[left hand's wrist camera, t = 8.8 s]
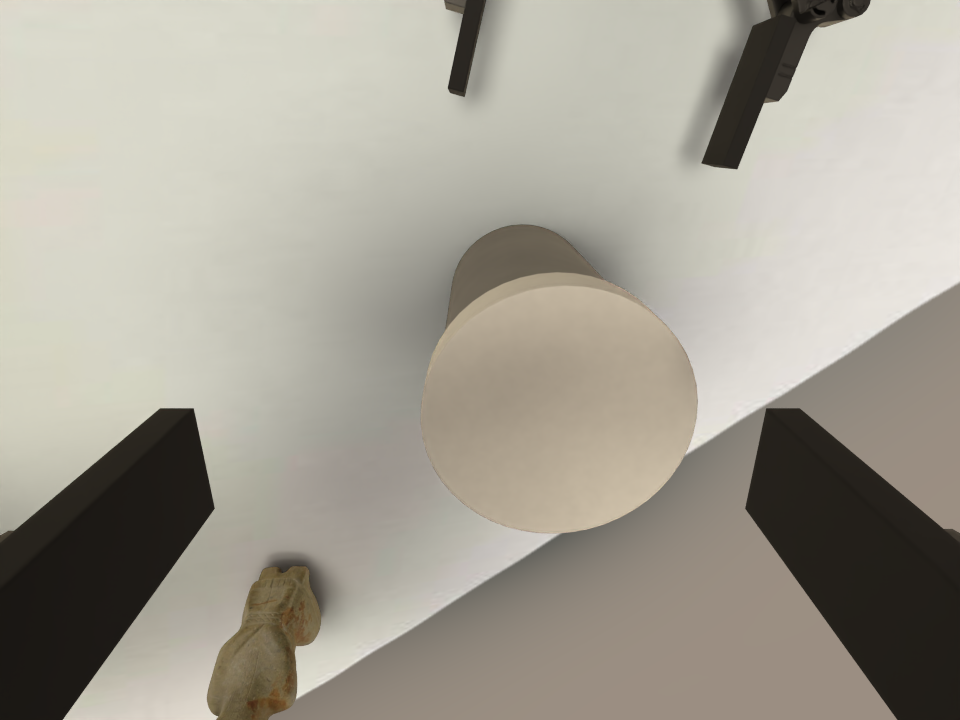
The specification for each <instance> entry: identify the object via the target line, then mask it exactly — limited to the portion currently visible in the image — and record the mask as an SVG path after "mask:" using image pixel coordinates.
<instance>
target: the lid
mask: <svg viewBox="0 0 960 720" xmlns="http://www.w3.org/2000/svg"><path fill="white" fill-rule="evenodd" d="M697 404H698V400H697V387H696V382H695V377H694V373H693V369H692V366H691V364H690V361H689V359H688V357H687V354H686V352H685V351H684V349H683V347H682V345H681V344H680V342H679V340H678V339H677V338H676V336H675V335H674V334H673V333H672V331H671V330H670V329H669V328H668V327H667V325H666V324H664V323H663V322H662V321H661V320H660V319H659V318H658V317H657V316H656V315H655V314H654V313H653V312H652V311H651V310H650V309H649V308H648V307H646V306H645V305H644V304H643V303H642V302H641V301H640V300H639V299H638V298H636V297H635V296H633V295H632V294H630V293H629V292H627V291H626V290H624V289H622V288H620V287H618V286H616V285H614V284H612V283H610V282H608V281H604V280H601V279H598V278H595V277H592V276H587V275H582V274H576V273H560V272H554V273H542V274H535V275H530V276H525V277H521V278H518V279H515V280H512V281H509V282H506V283H504V284H502V285H500V286H498V287H496V288H494V289H492V290H490V291H488V292H486V293H485V294H483V295H482V296H480V297H479V298H477V299H476V300H474V301H473V302H472V303H470V304H469V305H468V306H467V307H466V308H465V309H464V310H462V311H461V312H460V313H459V314H458V316H457V317H456V318H455V319H454V320H453V321H452V322H451V324H450V325H449V326H448V327H447V329H446V330H445V332H444V334H443V335H442V337H441V338H440V340H439V342H438V344H437V346H436V348H435V350H434V352H433V354H432V358H431V361H430V364H429V367H428V371H427V376H426V381H425V386H424V391H423V397H422V404H421V428H422V436H423V441H424V444H425V448H426V451H427V454H428V457H429V459H430V461H431V463H432V465H433V468H434V469H435V471H436V473H437V474H438V476H439V477H440V479H441V480H442V482H443V483H444V484H445V485H446V487H447V488H448V489H449V490H450V491H451V493H452V494H453V495H454V496H456V497H457V498H458V499H459V500H460V501H461V502H462V503H463V504H464V505H466V506H467V507H469V508H470V509H472V510H473V511H475V512H476V513H478V514H479V515H481V516H483V517H485V518H487V519H489V520H491V521H493V522H496V523H498V524H501V525H504V526H506V527H510V528H514V529H518V530H522V531H529V532H536V533H567V532H575V531H580V530H585V529H590V528H593V527H597V526H600V525H603V524H606V523H608V522H611V521H613V520H615V519H618V518H620V517H622V516H624V515H625V514H627V513H629V512H631V511H633V510H634V509H636V508H637V507H639V506H640V505H641V504H643V503H644V502H646V501H647V500H648V499H649V498H651V497H652V496H653V495H654V494H655V493H656V492H657V491H659V490H660V489H661V487H662V486H663V485H664V484H665V483H666V482H667V481H668V480H669V478H670V477H671V476H672V474H673V473H674V472H675V470H676V469H677V467H678V466H679V464H680V463H681V461H682V459H683V457H684V455H685V453H686V451H687V449H688V447H689V444H690V441H691V438H692V436H693V432H694V427H695V423H696V418H697Z"/></svg>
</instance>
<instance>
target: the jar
mask: <svg viewBox="0 0 960 720" xmlns="http://www.w3.org/2000/svg"><path fill="white" fill-rule="evenodd" d="M554 272H560V273H576V274H582V275H587V276H592V277H595V278H598V279H601V280H604V279H603V278H602V277H601V276H600V275H599V274H598V273H597V272H596V271H595V269H594V268H593V267H592V266H591V265H590V264H589V263H588V262H587V261H586V260H585V259H584V258H583V257H582V256H581V255H580V254H579V253H578V252H577V250H576V249H575V248H574V247H573V246H572V245H571V244H570V243H569V242H567V241H566V240H565V239H564V238H562V237H561V236H559V235H558V234H556V233H554V232H552V231H550V230H548V229H545V228H542V227H538V226H533V225H511V226H507V227H502V228H500V229H497V230H494V231H492V232H490V233H488V234H486V235H485V236H483V237H482V238H480V239H479V240H477V241H476V242H475V243H474V244H473V245H472V246H471V247H470V248H469V249H468V250H467V252H466V253H465V254H464V256H463V257H462V259H461V260H460V262H459V264H458V266H457V268H456V271H455V274H454V277H453V282H452V288H451V295H450V302H449V308H448V315H447V322H446V328H445V330H446V329H447V327H448V326H449V325H450V324H451V322H452V321H453V320H454V319H455V318H456V317H457V316H458V314H459V313H460V312H461V311H462V310H464V309H465V308H466V307H467V306H468V305H469V304H470V303H472V302H473V301H474V300H476V299H477V298H479V297H480V296H482V295H483V294H485V293H486V292H488V291H490V290H492V289H494V288H496V287H498V286H500V285H502V284H504V283H506V282H509V281H512V280H515V279H518V278H521V277H525V276H530V275H535V274H542V273H554ZM604 281H605V280H604Z"/></svg>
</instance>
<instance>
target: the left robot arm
mask: <svg viewBox="0 0 960 720" xmlns="http://www.w3.org/2000/svg"><path fill="white" fill-rule="evenodd" d="M214 509H215V508H214V503H213V498H212V493H211V489H210V484H209V479H208V474H207V470H206V465H205V460H204V455H203V451H202V446H201V441H200V436H199V432H198V427H197V422H196V417H195V413H194V408H160V409H159V410H158V411H157V412H155V413H154V414H153V415H152V416H151V417H149V418H148V419H147V420H146V421H145V422H144V423H142V424H141V425H140V426H139V427H138V428H136V429H135V430H134V431H133V432H132V433H130V434H129V435H128V436H127V437H126V438H124V439H123V440H122V441H121V442H120V443H118V444H117V445H116V446H115V447H114V448H113V449H111V450H110V451H109V452H108V453H107V454H105V455H104V456H103V457H102V458H101V459H99V460H98V461H97V462H96V463H95V464H93V465H92V466H91V467H90V468H89V469H87V470H86V471H85V472H84V473H83V474H82V475H80V476H79V477H78V478H77V479H76V480H74V481H73V482H72V483H71V484H70V485H68V486H67V487H66V488H65V489H64V490H62V491H61V492H60V493H59V494H58V495H56V496H55V497H54V498H53V499H52V500H51V501H49V502H48V503H47V504H46V505H45V506H43V507H42V508H41V509H40V510H39V511H37V512H36V513H35V514H34V515H33V516H31V517H30V518H29V519H28V520H27V521H25V522H24V523H23V524H22V525H21V526H20V527H18V528H17V529H16V530H15V531H8V532H6V533H4V534H2V535H0V720H63V719H64V717H65V716H66V714H67V713H68V712H69V710H70V709H71V707H72V706H73V705H74V703H75V702H76V700H77V699H78V698H79V696H80V695H81V694H82V692H83V691H84V689H85V688H86V687H87V685H88V684H89V682H90V681H91V680H92V678H93V677H94V675H95V674H96V673H97V671H98V670H99V669H100V667H101V666H102V664H103V663H104V662H105V660H106V659H107V657H108V656H109V655H110V653H111V652H112V650H113V649H114V648H115V646H116V645H117V644H118V642H119V641H120V639H121V638H122V637H123V635H124V634H125V632H126V631H127V630H128V628H129V627H130V625H131V624H132V623H133V621H134V620H135V619H136V617H137V616H138V614H139V613H140V612H141V610H142V609H143V607H144V606H145V605H146V603H147V602H148V600H149V599H150V598H151V596H152V595H153V594H154V592H155V591H156V589H157V588H158V587H159V585H160V584H161V582H162V581H163V580H164V578H165V577H166V575H167V574H168V573H169V571H170V570H171V569H172V567H173V566H174V564H175V563H176V562H177V560H178V559H179V557H180V556H181V555H182V553H183V552H184V551H185V549H186V548H187V546H188V545H189V544H190V542H191V541H192V539H193V538H194V537H195V535H196V534H197V532H198V531H199V530H200V528H201V527H202V526H203V524H204V523H205V521H206V520H207V519H208V517H209V516H210V514H211V513H212V512H213V510H214ZM745 509H746V510H747V512H748V513H749V514H750V516H751V517H752V519H753V520H754V521H755V523H756V524H757V526H758V527H759V528H760V530H761V531H762V532H763V534H764V535H765V537H766V538H767V539H768V541H769V542H770V544H771V545H772V546H773V548H774V549H775V550H776V552H777V553H778V555H779V556H780V557H781V559H782V560H783V561H784V563H785V564H786V566H787V567H788V569H789V570H790V571H791V573H792V574H793V575H794V577H795V578H796V580H797V581H798V582H799V584H800V585H801V587H802V588H803V589H804V591H805V592H806V594H807V595H808V596H809V598H810V599H811V600H812V602H813V603H814V605H815V606H816V607H817V609H818V610H819V612H820V613H821V614H822V616H823V617H824V619H825V620H826V621H827V623H828V624H829V625H830V627H831V628H832V630H833V631H834V632H835V634H836V635H837V637H838V638H839V639H840V641H841V642H842V644H843V645H844V646H845V648H846V649H847V650H848V652H849V653H850V655H851V656H852V657H853V659H854V660H855V662H856V663H857V664H858V666H859V667H860V668H861V670H862V671H863V673H864V674H865V675H866V677H867V678H868V680H869V681H870V682H871V684H872V685H873V687H874V688H875V689H876V691H877V692H878V693H879V695H880V696H881V698H882V699H883V700H884V702H885V703H886V705H887V706H888V707H889V709H890V710H891V712H892V713H893V714H894V716H895V717H896V718H897V720H960V533H958V532H957V531H955V530H953V529H943V528H942V527H940V526H939V525H938V524H937V523H936V522H934V521H933V520H932V519H931V518H930V517H929V516H927V515H926V514H925V513H924V512H923V511H921V510H920V509H919V508H918V507H917V506H915V505H914V504H913V503H912V502H911V501H909V500H908V499H907V498H906V497H905V496H904V495H902V494H901V493H900V492H899V491H898V490H896V489H895V488H894V487H893V486H892V485H890V484H889V483H888V482H887V481H886V480H884V479H883V478H882V477H881V476H880V475H878V474H877V473H876V472H875V471H874V470H873V469H871V468H870V467H869V466H868V465H867V464H865V463H864V462H863V461H862V460H861V459H859V458H858V457H857V456H856V455H855V454H853V453H852V452H851V451H850V450H849V449H847V448H846V447H845V446H844V445H843V444H842V443H840V442H839V441H838V440H837V439H835V438H834V437H833V436H832V435H831V434H830V433H828V432H827V431H826V430H825V429H824V428H822V427H821V426H820V425H819V424H818V423H816V422H815V421H814V420H813V419H812V418H811V417H809V416H808V415H807V414H806V413H805V412H803V411H802V410H801V409H799V408H767V409H766V413H765V417H764V422H763V427H762V432H761V436H760V441H759V446H758V451H757V455H756V460H755V465H754V470H753V474H752V479H751V484H750V489H749V493H748V498H747V503H746V508H745Z"/></svg>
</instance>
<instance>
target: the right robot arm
mask: <svg viewBox="0 0 960 720" xmlns="http://www.w3.org/2000/svg"><path fill="white" fill-rule="evenodd" d="M444 1H445V6H446V9H448V10H451V11H454V12H458V13H461V14H463V18H462V23H461V28H460V33H459V37H458V42H457V47H456V52H455V56H454V61H453V66H452V71H451V75H450V80H449V85H448V89H449V92H450V93H452V94H456V95H459V96H463V97H465V93H466V88H467V84H468V79H469V75H470V70H471V66H472V61H473V57H474V52H475V48H476V43H477V39H478V34H479V30H480V25H481V21H482V16H483V12H484V7H485V2H486V0H444ZM767 2H768V6H769V10H770V14H771V19H769V20H766V21H764V22H761V23H759V24H757V25H754V26H753V27H752V30H751V33H750V35H749V38H748V41H747V43H746V46H745V49H744V51H743V54H742V57H741V59H740V62H739V65H738V67H737V70H736V73H735V75H734V78H733V81H732V83H731V86H730V89H729V91H728V94H727V97H726V99H725V102H724V105H723V107H722V110H721V113H720V115H719V118H718V121H717V123H716V126H715V129H714V131H713V134H712V137H711V139H710V142H709V145H708V147H707V150H706V153H705V155H704V158H703V161H702V164H706V165H709V166H713V167H720V168H729V169H738V166H739V164H740V161H741V159H742V156H743V153H744V151H745V148H746V146H747V143H748V141H749V138H750V136H751V133H752V131H753V128H754V126H755V123H756V121H757V118H758V116H759V113H760V111H761V108H762V106H763V103H769V102H776V101H779V100H780V99H781V98H782V96H783V95H784V94H785V93H786V92H787V90H788V87H789V85H790V83H791V80H792V77H793V75H794V73H795V70H796V67H797V65H798V63H799V61H800V58H801V56H802V53H803V51H804V48H805V46H806V43H807V41H808V39H809V36H810V34H811V32H812V31H813V30H814V29H815V28H816V27H827V26H830V25H833V24H836V23H839V22H842V21H845V20H848V19H851V18H854V17H857V16H859V15H862V14H863V13H864V12H865V11H866V10H867V8H868V6H869V4H870V0H767Z"/></svg>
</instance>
